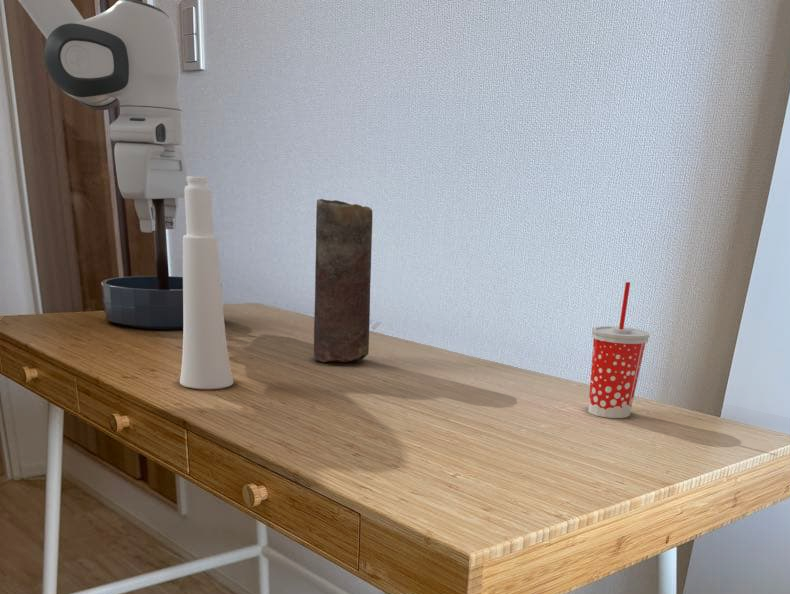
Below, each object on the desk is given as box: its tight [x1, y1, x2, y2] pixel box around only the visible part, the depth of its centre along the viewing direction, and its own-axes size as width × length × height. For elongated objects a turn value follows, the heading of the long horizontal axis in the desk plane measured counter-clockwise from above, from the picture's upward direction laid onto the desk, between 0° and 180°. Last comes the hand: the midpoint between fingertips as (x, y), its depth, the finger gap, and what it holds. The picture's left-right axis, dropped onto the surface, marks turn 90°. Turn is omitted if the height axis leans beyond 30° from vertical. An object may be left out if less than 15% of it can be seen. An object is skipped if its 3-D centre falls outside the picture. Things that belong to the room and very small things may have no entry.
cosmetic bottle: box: [179, 175, 234, 391], centre depth 92 cm, size 6×6×22 cm
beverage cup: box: [587, 281, 651, 419], centre depth 90 cm, size 6×6×14 cm
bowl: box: [100, 275, 223, 330], centre depth 133 cm, size 18×18×6 cm
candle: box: [313, 198, 374, 363], centre depth 108 cm, size 8×7×20 cm
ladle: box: [151, 199, 170, 290], centre depth 130 cm, size 6×6×19 cm
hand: (159, 230), depth 128 cm, fingers open, 8 cm apart
